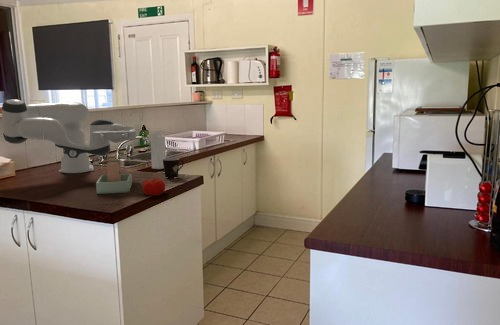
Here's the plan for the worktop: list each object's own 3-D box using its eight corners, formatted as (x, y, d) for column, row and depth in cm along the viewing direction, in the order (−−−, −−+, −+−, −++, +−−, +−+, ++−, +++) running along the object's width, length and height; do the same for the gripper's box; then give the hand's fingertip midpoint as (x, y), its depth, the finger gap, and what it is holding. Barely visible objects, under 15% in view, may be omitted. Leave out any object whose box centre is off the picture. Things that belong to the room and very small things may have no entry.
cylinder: (109, 187, 191) (107, 162, 189) (120, 187, 192) (119, 161, 190) (107, 190, 186) (105, 164, 184) (119, 189, 187) (117, 163, 185)
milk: (151, 168, 243) (149, 131, 240) (158, 166, 249) (157, 130, 245) (159, 169, 240) (157, 131, 237) (166, 167, 246) (164, 130, 242)
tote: (102, 184, 200) (101, 174, 200) (131, 183, 203) (131, 173, 202) (96, 193, 183) (95, 182, 182) (129, 192, 186) (128, 181, 185)
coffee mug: (164, 180, 211) (164, 160, 210) (161, 176, 219) (161, 158, 217) (187, 178, 215) (186, 159, 214) (183, 175, 223) (183, 157, 222)
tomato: (143, 198, 176) (142, 183, 175) (142, 192, 186) (141, 178, 185) (166, 196, 179) (166, 181, 178) (164, 190, 189) (163, 176, 188)
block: (110, 184, 199) (109, 159, 197) (121, 183, 200) (120, 159, 198) (109, 186, 194) (108, 161, 192) (120, 185, 195) (119, 160, 193)
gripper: (93, 127, 204) (89, 130, 190) (136, 126, 208) (135, 129, 195) (94, 140, 205) (90, 143, 191) (137, 139, 209) (135, 142, 196)
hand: (113, 136), depth 193 cm, fingers open, 8 cm apart
